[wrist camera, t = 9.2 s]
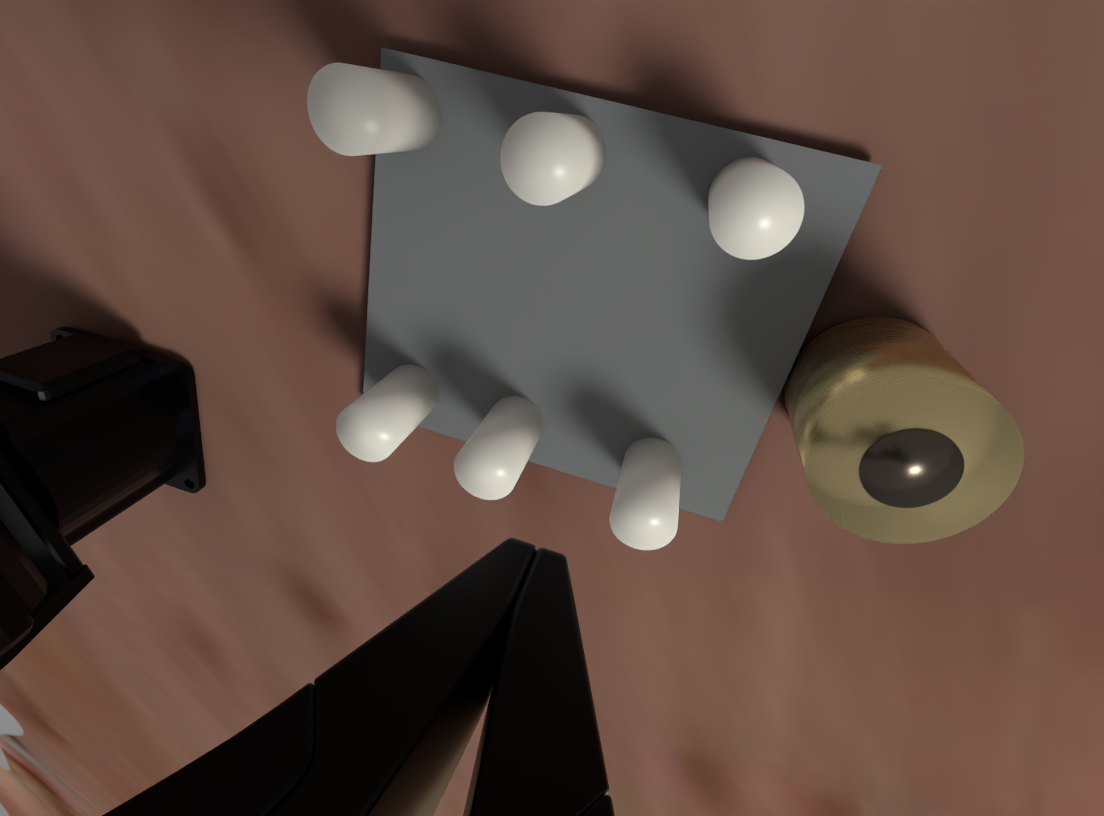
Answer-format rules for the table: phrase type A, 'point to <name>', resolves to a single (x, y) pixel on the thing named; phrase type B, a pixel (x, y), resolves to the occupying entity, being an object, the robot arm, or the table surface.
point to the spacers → (540, 179)
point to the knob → (898, 433)
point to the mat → (596, 282)
